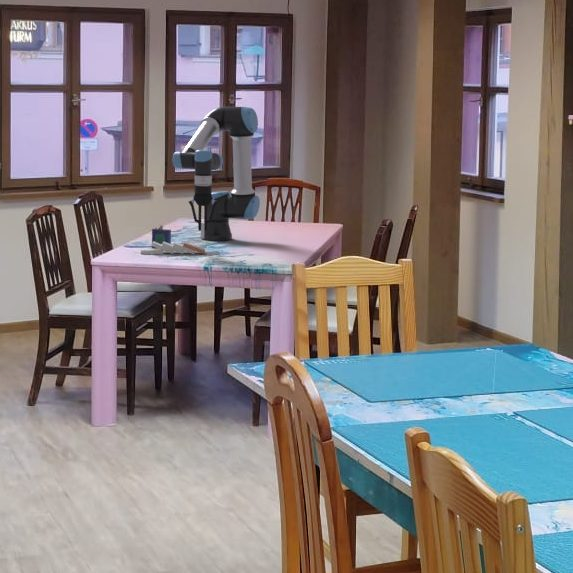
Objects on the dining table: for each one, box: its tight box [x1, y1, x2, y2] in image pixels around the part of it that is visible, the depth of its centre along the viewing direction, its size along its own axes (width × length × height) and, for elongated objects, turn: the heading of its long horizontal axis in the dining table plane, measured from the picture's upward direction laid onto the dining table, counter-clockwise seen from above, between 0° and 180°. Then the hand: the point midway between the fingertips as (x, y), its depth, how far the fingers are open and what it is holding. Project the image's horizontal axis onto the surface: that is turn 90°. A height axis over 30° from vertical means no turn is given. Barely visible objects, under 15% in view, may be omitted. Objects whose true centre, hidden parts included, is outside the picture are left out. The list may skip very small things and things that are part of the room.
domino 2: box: [151, 241, 175, 254], centre depth 530 cm, size 2×5×10 cm
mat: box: [152, 251, 221, 256], centre depth 532 cm, size 30×10×1 cm, turn 96°
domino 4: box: [172, 241, 196, 254], centre depth 531 cm, size 2×5×10 cm
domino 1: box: [140, 248, 165, 255], centre depth 530 cm, size 2×5×10 cm
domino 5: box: [182, 241, 206, 254], centre depth 532 cm, size 2×5×10 cm
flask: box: [151, 225, 172, 249], centre depth 546 cm, size 9×3×11 cm, turn 74°
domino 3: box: [162, 241, 185, 254], centre depth 531 cm, size 2×5×10 cm
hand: (202, 237), depth 531 cm, fingers closed
